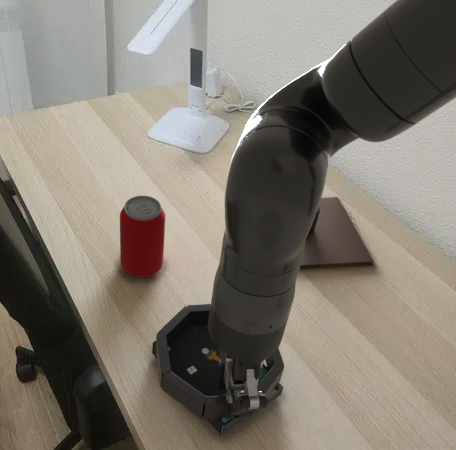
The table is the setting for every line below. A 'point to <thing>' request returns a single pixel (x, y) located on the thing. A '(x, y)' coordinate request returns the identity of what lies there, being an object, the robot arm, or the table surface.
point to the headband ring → (184, 391)
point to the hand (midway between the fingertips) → (229, 399)
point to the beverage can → (142, 236)
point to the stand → (333, 239)
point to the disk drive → (204, 369)
